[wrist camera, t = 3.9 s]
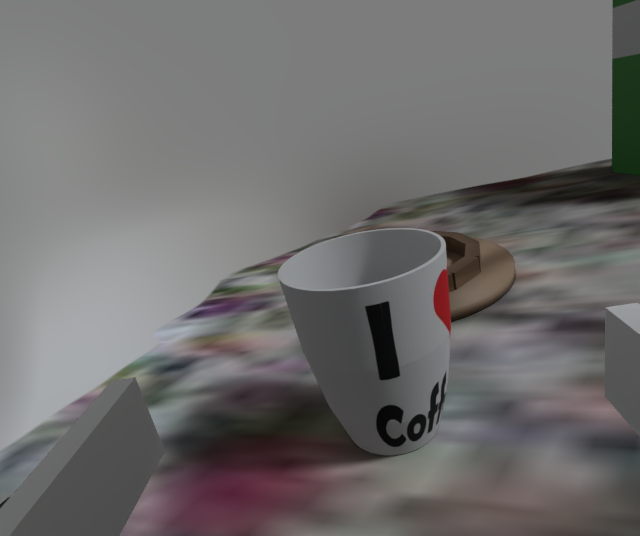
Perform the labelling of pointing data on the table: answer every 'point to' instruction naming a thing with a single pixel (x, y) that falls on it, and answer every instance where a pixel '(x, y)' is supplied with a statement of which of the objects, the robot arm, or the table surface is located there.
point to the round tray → (475, 273)
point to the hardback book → (626, 87)
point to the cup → (376, 332)
